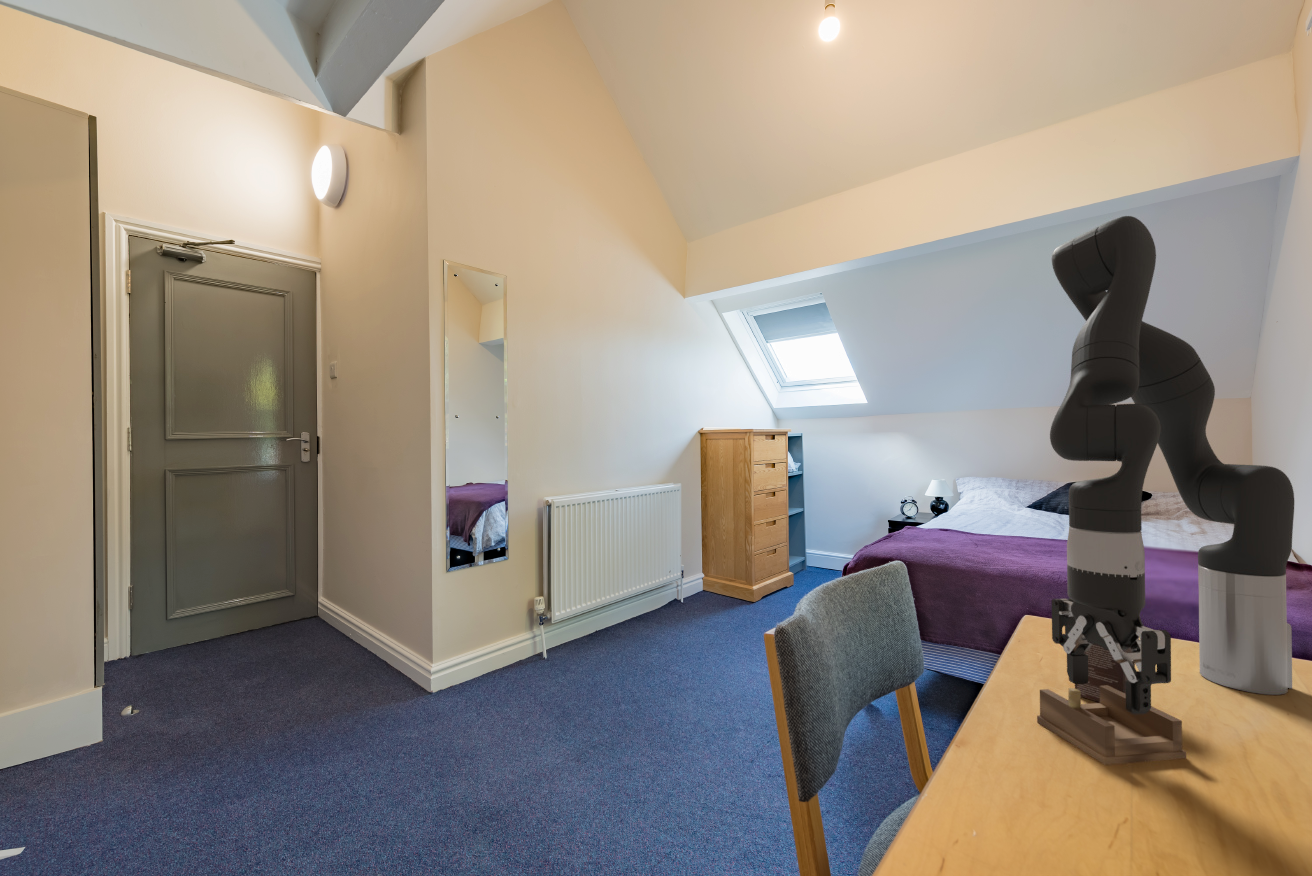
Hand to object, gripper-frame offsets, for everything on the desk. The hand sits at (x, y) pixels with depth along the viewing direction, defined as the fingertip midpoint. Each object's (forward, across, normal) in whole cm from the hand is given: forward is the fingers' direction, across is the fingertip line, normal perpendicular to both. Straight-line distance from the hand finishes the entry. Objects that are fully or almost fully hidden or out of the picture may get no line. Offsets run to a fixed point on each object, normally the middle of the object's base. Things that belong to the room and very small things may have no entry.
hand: (1106, 696), depth 69 cm
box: (+6, -10, +10) cm, 15 cm away
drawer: (+5, 0, 0) cm, 5 cm away
